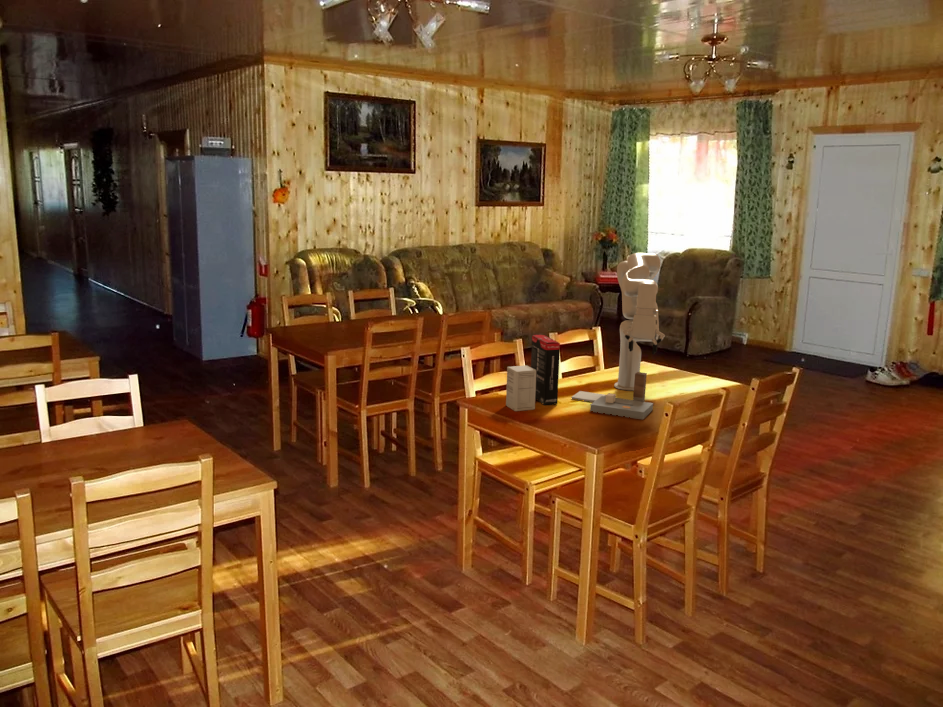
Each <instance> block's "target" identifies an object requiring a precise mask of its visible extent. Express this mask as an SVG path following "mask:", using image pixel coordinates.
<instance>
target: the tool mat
mask: <svg viewBox="0 0 943 707" xmlns="http://www.w3.org/2000/svg"><path fill="white" fill-rule="evenodd" d="M606 395H607V394H602V393H595V392H589V391H582V390H579V391H578V392H576V393H575V394H573V395H572V396H571V397H570V399H571V398H572V399H571V400H573V399H578V400H577V401H579V400H584V401H583V402H586V401H590V402H589V403H593V402H594V401H596V400H597V399H598V398H600V397H601V396H606Z"/></svg>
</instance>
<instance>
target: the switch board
mask: <svg viewBox="0 0 943 707" xmlns="http://www.w3.org/2000/svg"><path fill="white" fill-rule="evenodd" d="M653 407H654V402H648V401H645V402H641V401H634V400H633V399H627V398H620V397H616V398H615V402H613V403H608V402H606V396H601V397H600V398H598V399H597V400H596V401H594V402H591V403H590V407H589V411H590V412H591V411H593V412H592V413H597V412H598V413H599V414H603V413H605V415H610V414H612V415H611V416H616V415H618V416H619V417H623V416H625V417H624V418H629V417H630V418H631V419H635V420H637V419H638V420H642V421H643V420H644V419H645V418H647V416H648V415H649V414H650V413H651V412H652V411H653V410H654V408H653Z"/></svg>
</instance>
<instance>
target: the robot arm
mask: <svg viewBox="0 0 943 707" xmlns="http://www.w3.org/2000/svg"><path fill="white" fill-rule="evenodd" d="M660 269H661V258H660V256H659V255H658V254H656V253H653V252H651V253H650V252H649V253H648V252H647V253H646V252H634V253H631V254H630V255H629V256H628V258H627V259H626V260H624V261H623V260H622V261H620V262H618V265H617V266H616V277H617V278H616V279H617V281H618V284H619V287H620V291H621V301H622V302H621V303H622V304H621V305H622V306H621V307H622V308H621V309H622V310H621V311H622V315H623V317H624V318H625V319H626V320H623V321H622V322H621V323H620V325H619V339H620V341H619V342H620V345H619V346H620V347H619V348H620V351H619V361H618V362H619V363H618V364H619V365H618V377H617V382H615V383H614V388H616V389H618V390H622V391H633V392H634V381H635V373H637V372H641V361H642V349H641V347H640V346H639V345H638V343H637V342H651V343H653V344H652V350H651V354H652V355H655V354H656V353H658V344H659V343H661V342H662V341H663V340H664V338H665V337H666V335H665V333H663V332H661V331H660V328H659V327H660V322H659V320H660V319H659V307H658V303H657V302H656V300H657V294H658V292H659V285H658V283H657V282H656V280H654V278H655V277H656V276H657V274H658V273H659V271H660Z"/></svg>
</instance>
